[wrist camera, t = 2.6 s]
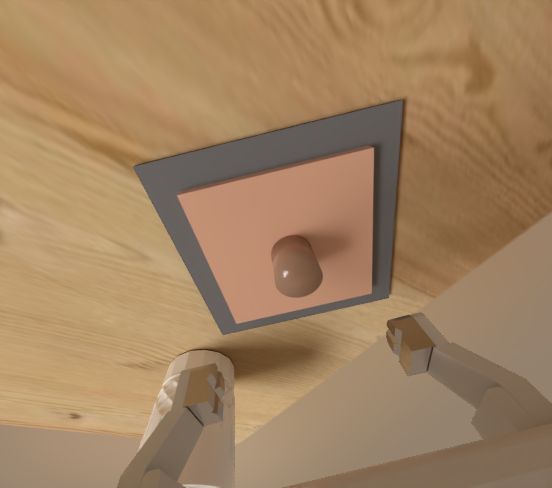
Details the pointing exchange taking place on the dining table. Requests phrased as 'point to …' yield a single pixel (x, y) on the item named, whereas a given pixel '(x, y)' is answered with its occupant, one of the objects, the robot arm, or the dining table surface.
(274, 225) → the lid
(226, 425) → the white cup
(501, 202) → the dining table surface
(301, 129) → the mat
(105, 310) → the dining table surface
